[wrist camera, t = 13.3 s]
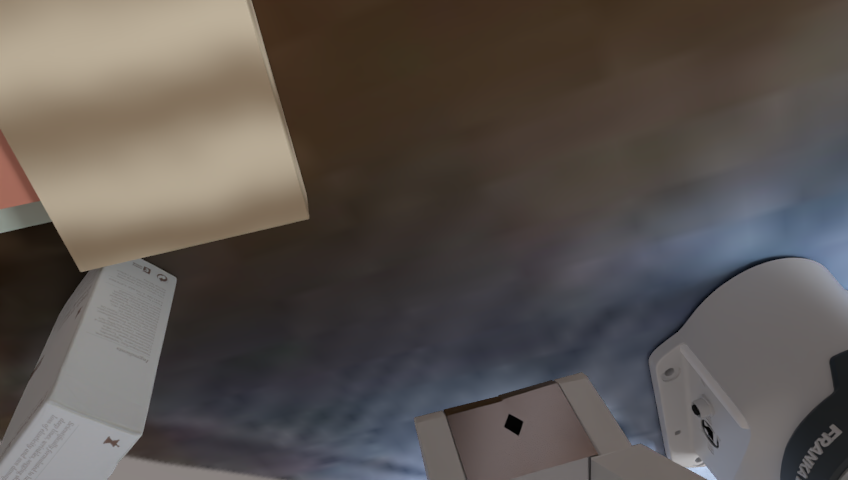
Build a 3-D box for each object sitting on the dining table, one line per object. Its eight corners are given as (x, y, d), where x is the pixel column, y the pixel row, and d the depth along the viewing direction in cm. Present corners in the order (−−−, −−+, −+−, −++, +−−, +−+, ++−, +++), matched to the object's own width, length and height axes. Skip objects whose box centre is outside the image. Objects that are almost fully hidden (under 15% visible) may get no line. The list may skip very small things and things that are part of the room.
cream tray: (306, 194, 35) (309, 218, 32) (95, 243, 33) (80, 272, 31) (230, -74, 27) (225, -70, 25) (-46, -25, 26) (-81, -15, 23)
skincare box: (110, 240, 34) (38, 395, 23) (183, 277, 36) (147, 434, 25) (56, 315, 35) (-33, 490, 25) (129, 346, 37) (75, 519, 27)
